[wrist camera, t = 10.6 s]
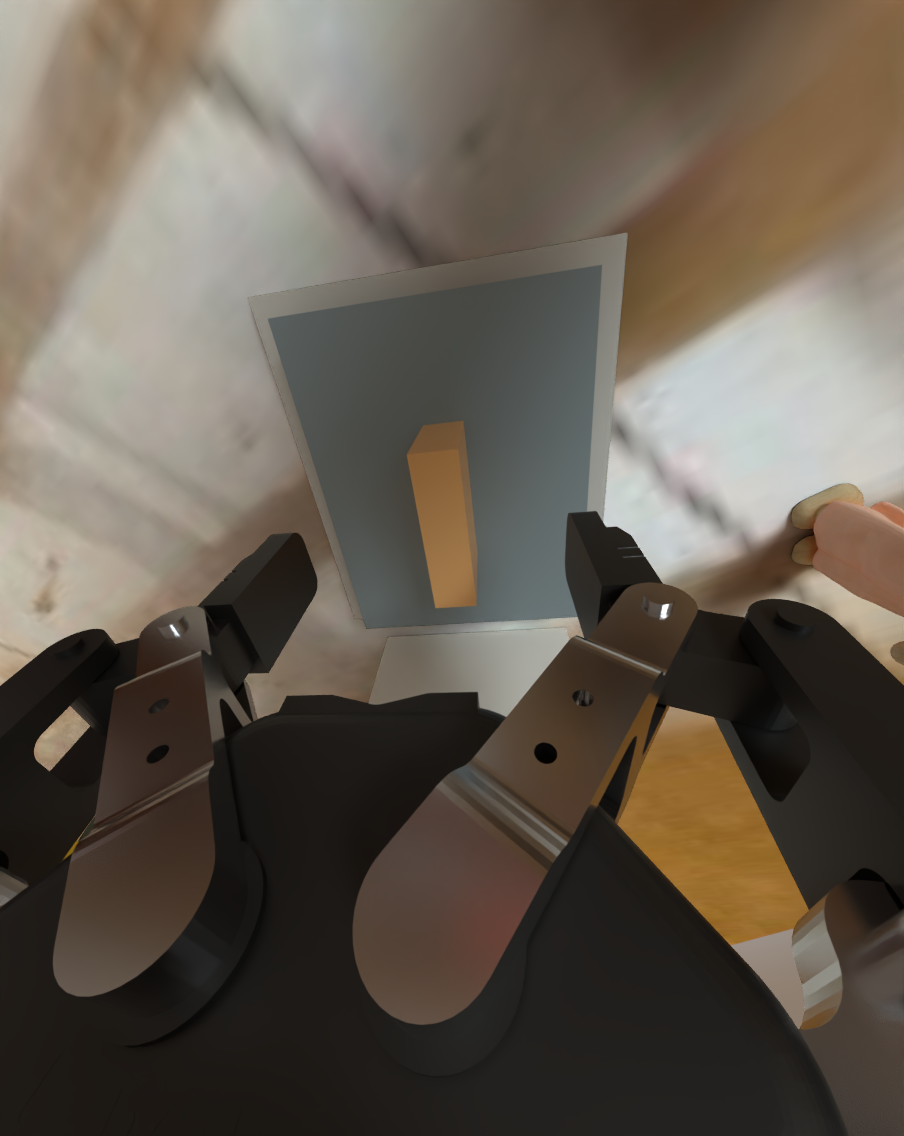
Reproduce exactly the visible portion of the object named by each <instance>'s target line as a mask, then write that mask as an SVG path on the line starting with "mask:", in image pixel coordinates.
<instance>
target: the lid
mask: <svg viewBox="0 0 904 1136" xmlns="http://www.w3.org/2000/svg"><path fill="white" fill-rule="evenodd" d="M601 275H602V265H597V266H591V267H585V268H578V269H572V270H566V271H560V272H554V273H547V274H541V275H535V276H529V277H523V278H516V279H510V280H504V281H498V282H492V283H485V284H479V285H473V286H467V287H461V288H454V289H448V290H442V291H436V292H430V293H423V294H417V295H411V296H405V297H399V298H392V299H386V300H380V301H374V302H368V303H361V304H355V305H349V306H343V307H337V308H330V309H324V310H318V311H312V312H306V313H299V314H293V315H287V316H281V317H275V318H268V322H269V325H270V328H271V331H272V334H273V337H274V341H275V344H276V347H277V350H278V353H279V356H280V360H281V363H282V366H283V369H284V372H285V375H286V378H287V382H288V385H289V388H290V391H291V394H292V397H293V400H294V404H295V407H296V410H297V413H298V416H299V419H300V422H301V426H302V429H303V432H304V435H305V438H306V441H307V444H308V448H309V451H310V454H311V457H312V460H313V463H314V466H315V470H316V473H317V476H318V479H319V482H320V485H321V488H322V492H323V495H324V498H325V501H326V504H327V507H328V510H329V514H330V517H331V520H332V523H333V526H334V529H335V532H336V536H337V539H338V542H339V545H340V548H341V551H342V554H343V558H344V561H345V564H346V567H347V570H348V573H349V576H350V580H351V583H352V586H353V589H354V592H355V595H356V598H357V602H358V605H359V608H360V611H361V614H362V617H363V620H364V624H365V627H366V629H369V628H387V627H405V626H423V625H441V624H459V623H477V622H495V621H513V620H531V619H549V618H567V617H578V616H577V613H576V609H575V606H574V603H573V600H572V596H571V593H570V590H569V587H568V583H567V580H566V574H565V547H566V527H567V516H568V513H574V512H587V503H588V487H589V470H590V454H591V438H592V422H593V405H594V389H595V373H596V356H597V340H598V324H599V308H600V291H601Z"/></svg>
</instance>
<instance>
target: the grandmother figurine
mask: <svg viewBox="0 0 904 1136" xmlns="http://www.w3.org/2000/svg"><path fill="white" fill-rule="evenodd" d="M863 505H864V498H863V495H862V492H861V491H860V490H859V489H858V488H857V487H856V486H854V485H852V484H839V485H836V486H833V487H831V488H829V489H826V490H824V491H822V492H820V493H818V494H816V495H814V496H811V497H809V498H808V499H805V500H803V501H801V502H800V503H799V504H798V505H797V506H796V507H795V508H794V509H793V512H792V514H791V515H792V517H791V518H792V523H793V525H794V526H795V527H796V528H799V529H813V528H814V534H815V535H813V536H809V537H806V538H804V539H802V540H800V541H799V542H798V543H797V544H796V545H795V547H794V549H793V552H792V559H793V561H795V562H796V563H799V564H806V565H813V567H814V568H815V569H816V570H817V571H819V572H821V573H823V574H824V575H826V576H827V577H829V578H830V579H831V580H833V581H835V582H836V583H838V584H839V585H841V586H842V587H844V588H845V589H847V590H848V591H850V592H851V593H853V594H854V595H856V596H858V597H860V598H862V599H865V600H867V601H870V602H872V603H875V604H877V605H879V606H881V607H883V608H885V609H887V610H889V611H891V612H893V613H895V614H898V615H900V616H902V617H904V510H903V509H901V508H899V507H897V506H894V505H892V504H890V503H888V502H883V501H881V502H879V503H877V504H875V505H873V506H872V507H871V508H868V507H864V506H863ZM890 653H891V656H892V658H893V659H894V660H895V661H896V662H898V663H900V664H902V665H904V641H903V642H899V643H896V644H895V645H893V647H892V648H891V651H890Z"/></svg>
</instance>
